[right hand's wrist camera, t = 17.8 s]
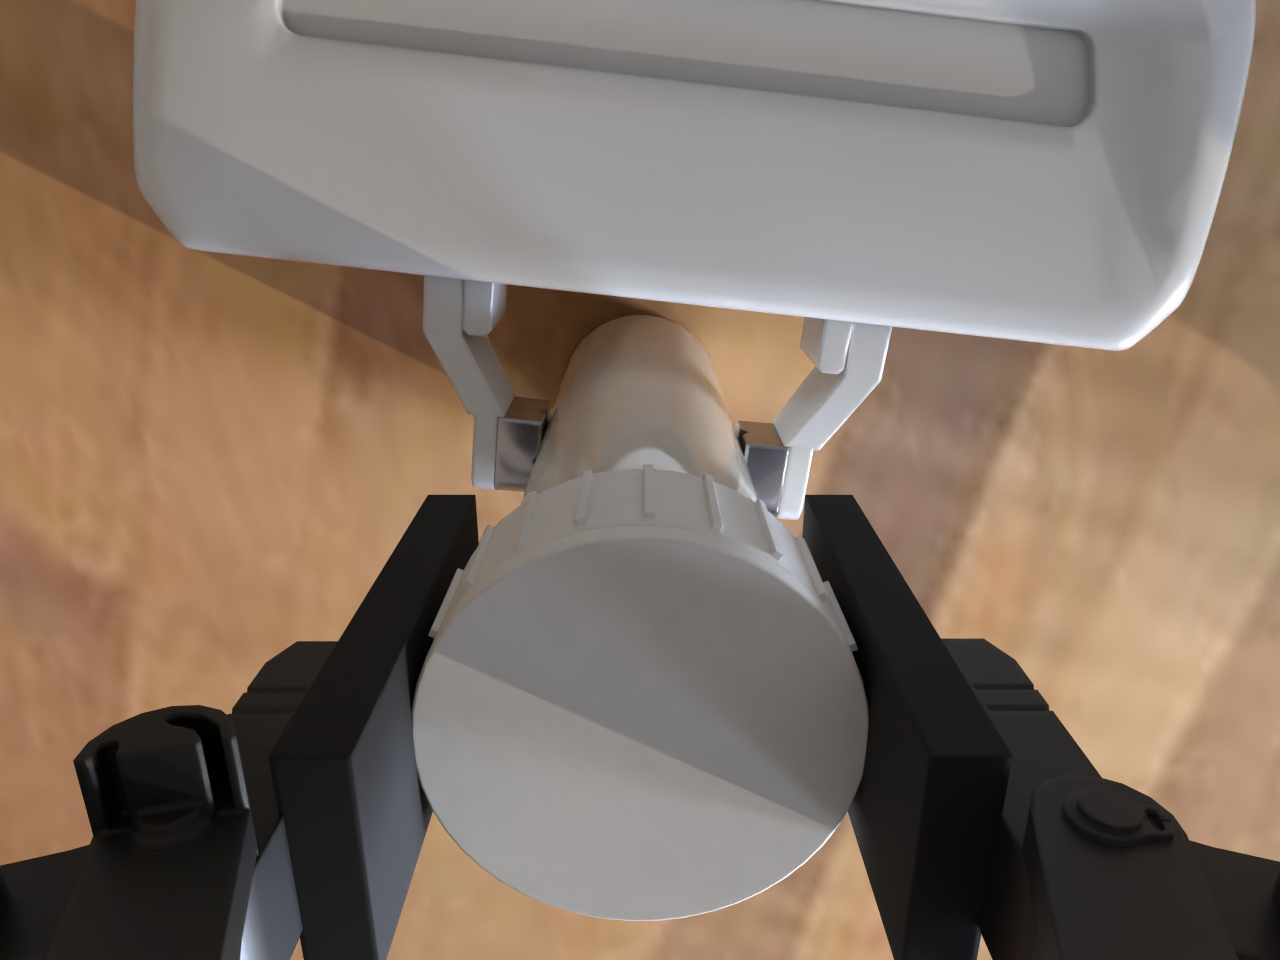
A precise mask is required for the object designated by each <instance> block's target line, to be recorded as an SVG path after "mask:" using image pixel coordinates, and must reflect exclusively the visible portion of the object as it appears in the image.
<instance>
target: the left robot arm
mask: <svg viewBox="0 0 1280 960" xmlns="http://www.w3.org/2000/svg"><path fill="white" fill-rule="evenodd" d="M1255 16H1256V2H1255V0H136V6H135V21H134V47H133V91H132V115H133V153H134V167H135V175H136V180H137V185H138V188H139V190H140V193H141V194H142V196H143V197H144V199H145V200H146V202H147V203H148V204H149V206H150V207H151V208H152V209H153V211H154V212H155V213H156V215H157V216H158V217H159V219H160V220H161V221H162V223H163V224H164V225H165V227H166V228H167V229H168V230H169V232H170V233H171V234H172V235H173V236H174V238H175V239H176V240H177V241H178V242H179V243H180V244H182V245H183V246H185V247H187V248H190V249H193V250H200V251H208V252H217V253H226V254H235V255H244V256H254V257H263V258H272V259H281V260H290V261H299V262H308V263H318V264H327V265H336V266H345V267H354V268H363V269H372V270H381V271H391V272H400V273H409V274H418V275H424V295H423V332H424V334H425V336H426V338H427V340H428V342H429V343H430V345H431V347H432V349H433V351H434V352H435V354H436V356H437V358H438V360H439V362H440V363H441V365H442V367H443V369H444V371H445V372H446V374H447V376H448V378H449V380H450V382H451V383H452V385H453V387H454V389H455V391H456V392H457V394H458V396H459V398H460V400H461V402H462V403H463V405H464V407H465V409H466V411H467V412H468V414H473V415H474V431H473V454H472V478H471V479H472V484H473V487H476V488H483V489H490V490H495V489H498V490H510V491H522V492H525V490H526V487H527V484H528V481H529V478H530V475H531V472H532V470H533V467H534V464H535V461H536V458H537V455H538V452H539V449H540V446H541V443H542V440H543V437H544V434H545V431H546V428H547V425H548V422H549V411H550V401H546V400H538V399H530V398H522V397H515V393H514V391H513V388H512V386H511V384H510V382H509V380H508V378H507V376H506V374H505V372H504V370H503V368H502V365H501V363H500V361H499V359H498V357H497V355H496V353H495V351H494V349H493V347H492V344H491V342H490V340H489V338H488V336H487V335H488V334H489V333H490V332H491V331H492V329H493V328H494V327H495V326H496V325H497V324H498V322H499V321H500V320H501V319H502V318H503V317H504V315H505V313H506V298H507V284H509V285H518V286H528V287H537V288H546V289H555V290H564V291H573V292H582V293H591V294H601V295H610V296H619V297H628V298H637V299H646V300H655V301H665V302H674V303H683V304H692V305H701V306H710V307H719V308H728V309H738V310H747V311H756V312H765V313H774V314H783V315H792V316H801V317H804V322H803V328H802V335H801V341H800V347H801V348H802V350H803V351H804V353H805V354H806V355H807V356H808V357H809V359H810V360H811V361H812V362H813V363H814V365H815V367H814V369H813V370H812V371H811V373H810V374H809V375H808V376H807V378H806V379H805V380H804V381H803V383H802V384H801V385H800V387H799V388H798V389H797V390H796V392H795V393H794V394H793V396H792V397H791V398H790V399H789V401H788V402H787V403H786V405H785V406H784V407H783V408H782V410H781V411H780V412H779V413H778V415H777V416H776V417H775V419H774V420H773V421H772V422H773V424H771V423H759V422H747V421H738V423H737V429H736V435H737V438H738V441H739V444H740V447H741V450H742V453H743V456H744V459H745V462H746V465H747V467H748V470H749V473H750V476H751V479H752V482H753V485H754V488H755V491H756V494H757V497H758V498H759V499H761V500H762V501H764V502H765V505H766V508H767V511H769V512H770V513H771V514H773V515H774V516H775V517H776V518H781V519H791V520H797V519H798V518H799V516H800V513H801V511H802V507H803V502H804V496H805V491H806V486H807V480H808V475H809V470H810V464H811V459H812V454H813V450H820V449H821V448H822V446H823V445H824V444H825V443H826V442H827V441H828V440H829V438H830V437H831V436H832V435H833V434H834V433H835V432H836V431H837V429H838V428H839V427H840V426H841V425H842V424H843V423H844V422H845V420H846V419H847V418H848V417H849V416H850V415H851V414H852V413H853V411H854V410H855V409H856V408H857V407H858V406H859V405H860V404H861V402H862V401H863V400H864V399H865V398H866V397H867V396H868V395H869V393H870V392H871V391H872V390H873V389H874V388H875V387H876V386H877V384H878V383H879V382H880V381H881V377H882V373H883V368H884V363H885V359H886V354H887V349H888V345H889V340H890V335H891V331H892V326H893V327H902V328H911V329H920V330H929V331H938V332H948V333H957V334H966V335H975V336H984V337H993V338H1002V339H1012V340H1021V341H1030V342H1039V343H1048V344H1057V345H1066V346H1076V347H1085V348H1094V349H1103V350H1113V351H1118V350H1125V349H1128V348H1130V347H1132V346H1133V345H1134V344H1136V343H1137V342H1138V341H1140V340H1141V339H1142V338H1143V337H1145V336H1146V335H1147V334H1148V333H1150V332H1151V331H1152V330H1153V329H1154V328H1155V327H1157V326H1158V325H1159V324H1160V323H1161V322H1162V321H1163V320H1164V319H1166V318H1167V317H1168V316H1169V315H1170V314H1171V313H1172V312H1173V311H1174V310H1175V309H1177V308H1178V307H1179V305H1180V304H1181V302H1182V301H1183V300H1184V298H1185V296H1186V294H1187V292H1188V290H1189V288H1190V286H1191V284H1192V281H1193V279H1194V276H1195V273H1196V270H1197V268H1198V265H1199V262H1200V259H1201V256H1202V254H1203V250H1204V247H1205V244H1206V240H1207V237H1208V234H1209V231H1210V227H1211V224H1212V221H1213V217H1214V214H1215V211H1216V207H1217V204H1218V200H1219V196H1220V193H1221V189H1222V185H1223V181H1224V178H1225V174H1226V170H1227V167H1228V163H1229V158H1230V154H1231V150H1232V146H1233V142H1234V138H1235V134H1236V130H1237V125H1238V121H1239V117H1240V112H1241V107H1242V102H1243V98H1244V93H1245V88H1246V83H1247V78H1248V73H1249V67H1250V62H1251V56H1252V50H1253V42H1254V34H1255Z"/></svg>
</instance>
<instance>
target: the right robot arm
mask: <svg viewBox="0 0 1280 960" xmlns="http://www.w3.org/2000/svg"><path fill="white" fill-rule="evenodd" d="M802 537H803V538H804V540H805V541H806V544H807V546H808V548H809V551H810V553H811V555H812V558H813V560H814V563H815V565H816V567H817V570H818V572H819V574H820V577H821V579H822V582H826V581H829V583H830V585H831V588H832V590H833V592H834V594H835V597H836V599H837V601H838V604H839V606H840V608H841V610H842V613H843V615H844V617H845V620H846V622H847V624H848V627H849V629H850V631H851V633H852V636H853V638H854V640H855V643H856V645H857V648H858V650H856V651H853V652H852V654H853V657H854V659H855V661H856V664H857V666H858V669H859V671H860V674H861V676H862V679H863V683H864V688H865V692H866V696H867V701H868V707H869V725H868V735H867V745H866V755H865V763H864V771H863V776H862V780H861V782H860V785H859V787H858V790H857V792H856V794H855V797H854V799H853V802H852V804H851V806H850V807H849V809H848V813H849V817H850V820H851V823H852V826H853V829H854V833H855V836H856V839H857V842H858V845H859V849H860V852H861V855H862V858H863V861H864V864H865V868H866V871H867V874H868V877H869V880H870V884H871V887H872V890H873V893H874V896H875V900H876V903H877V906H878V909H879V912H880V916H881V919H882V922H883V925H884V928H885V931H886V935H887V938H888V941H889V944H890V947H891V951H892V954H893V957H894V960H977V955H978V949H979V943H980V938H981V934H982V936H983V938H984V941H985V943H986V945H987V948H988V950H989V952H990V955H991V957H992V959H993V960H1280V862H1278V861H1274V860H1269V859H1264V858H1260V857H1255V856H1251V855H1246V854H1242V853H1237V852H1233V851H1228V850H1224V849H1219V848H1214V847H1210V846H1207V845H1203V844H1200V843H1197V842H1193V841H1190V840H1189V839H1188V837H1187V835H1186V833H1185V832H1184V830H1183V829H1182V827H1181V826H1180V825H1179V823H1178V822H1177V820H1176V819H1175V817H1174V816H1173V815H1172V814H1171V813H1170V812H1168V811H1167V810H1166V809H1165V808H1163V807H1162V806H1161V805H1159V804H1158V803H1157V802H1156V801H1154V800H1153V799H1152V798H1151V797H1149V796H1147V795H1145V794H1143V793H1141V792H1138V791H1136V790H1134V789H1132V788H1130V787H1128V786H1126V785H1124V784H1122V783H1118V782H1114V781H1111V780H1107V779H1103V778H1102V777H1101V776H1100V775H1099V773H1098V772H1097V770H1096V769H1095V768H1094V766H1093V765H1092V764H1091V762H1090V761H1089V760H1088V758H1087V757H1086V756H1085V754H1084V753H1083V751H1082V750H1081V749H1080V747H1079V746H1078V745H1077V743H1076V742H1075V741H1074V739H1073V738H1072V736H1071V735H1070V734H1069V732H1068V731H1067V730H1066V728H1065V727H1064V726H1063V724H1062V723H1061V721H1060V720H1059V719H1058V717H1057V716H1056V715H1055V713H1054V712H1053V711H1049V705H1048V704H1047V702H1046V701H1045V700H1044V698H1043V697H1042V696H1041V694H1040V693H1039V692H1038V690H1034V685H1033V683H1032V682H1031V681H1030V679H1029V678H1028V677H1027V675H1026V674H1025V673H1024V671H1023V670H1022V668H1021V667H1020V666H1019V664H1018V663H1017V662H1016V660H1015V659H1013V658H1012V657H1010V656H1009V655H1007V654H1006V653H1004V652H1003V651H1001V650H1000V649H998V648H997V647H995V646H994V645H992V644H991V643H989V642H988V641H986V640H985V639H941V638H940V637H939V635H938V633H937V632H936V630H935V629H934V627H933V625H932V624H931V622H930V620H929V619H928V617H927V616H926V614H925V612H924V611H923V609H922V607H921V606H920V604H919V603H918V601H917V599H916V598H915V596H914V594H913V593H912V591H911V590H910V588H909V586H908V585H907V583H906V581H905V580H904V578H903V576H902V575H901V573H900V572H899V570H898V568H897V567H896V565H895V563H894V562H893V560H892V559H891V557H890V555H889V554H888V552H887V550H886V549H885V547H884V546H883V544H882V542H881V541H880V539H879V537H878V536H877V534H876V533H875V531H874V529H873V528H872V526H871V524H870V523H869V521H868V520H867V518H866V516H865V515H864V513H863V511H862V510H861V508H860V506H859V505H858V503H857V502H856V500H855V498H854V497H853V495H805V507H804V521H803V536H802ZM478 545H479V542H478V528H477V513H476V499H475V495H428V496H427V498H426V499H425V501H424V503H423V504H422V506H421V507H420V509H419V511H418V512H417V514H416V516H415V517H414V519H413V520H412V522H411V524H410V525H409V527H408V529H407V530H406V532H405V533H404V535H403V537H402V538H401V540H400V542H399V543H398V545H397V546H396V548H395V550H394V551H393V553H392V555H391V556H390V558H389V560H388V561H387V563H386V564H385V566H384V568H383V569H382V571H381V573H380V574H379V576H378V577H377V579H376V581H375V582H374V584H373V586H372V587H371V589H370V590H369V592H368V594H367V595H366V597H365V599H364V600H363V602H362V603H361V605H360V607H359V608H358V610H357V612H356V613H355V615H354V616H353V618H352V620H351V621H350V623H349V625H348V626H347V628H346V630H345V631H344V633H343V634H342V636H341V638H340V639H339V641H297V642H296V643H294V644H293V645H291V646H290V647H288V648H287V649H285V650H284V651H282V652H281V653H280V654H278V655H277V656H275V657H274V658H272V659H271V660H269V661H268V662H266V663H265V665H264V666H263V667H262V669H261V670H260V671H259V673H258V674H257V676H256V677H255V678H254V680H253V681H252V682H251V684H250V685H249V686H248V691H247V693H243V695H242V696H241V697H240V699H239V700H238V702H237V703H236V704H235V706H234V707H233V708H232V714H228V715H226V714H225V713H224V712H223V711H221V710H218V709H214V708H210V707H205V706H201V705H191V706H171V707H167V708H162V709H158V710H154V711H150V712H145V713H141V714H139V715H137V716H134V717H132V718H130V719H127V720H125V721H123V722H120V723H118V724H116V725H113V726H111V727H110V728H109V729H107V730H106V731H104V732H103V733H101V734H100V735H98V736H97V737H95V738H94V739H92V740H91V741H90V742H88V743H87V745H86V746H85V747H84V748H83V749H82V751H81V752H80V753H79V754H78V756H77V757H76V758H75V759H74V760H73V762H74V765H75V769H76V773H77V777H78V780H79V784H80V788H81V791H82V795H83V799H84V803H85V806H86V810H87V814H88V817H89V821H90V825H91V829H92V832H93V838H92V841H91V843H90V845H87V846H83V847H80V848H76V849H73V850H69V851H65V852H60V853H56V854H51V855H47V856H42V857H38V858H33V859H29V860H24V861H20V862H15V863H11V864H6V865H2V866H0V960H290V958H291V956H292V953H293V951H294V949H295V946H296V944H297V942H298V939H299V937H300V940H301V946H302V952H303V957H304V960H386V959H387V956H388V952H389V949H390V946H391V943H392V940H393V936H394V933H395V930H396V927H397V924H398V920H399V917H400V914H401V911H402V908H403V904H404V901H405V898H406V895H407V892H408V889H409V885H410V882H411V879H412V876H413V873H414V869H415V866H416V863H417V860H418V857H419V853H420V850H421V847H422V844H423V841H424V837H425V834H426V831H427V828H428V825H429V822H430V818H431V815H432V812H433V810H432V808H431V806H430V804H429V802H428V800H427V797H426V795H425V793H424V791H423V789H422V786H421V783H420V780H419V776H418V773H417V766H416V757H415V748H414V739H413V728H412V711H411V710H412V704H413V699H414V694H415V689H416V684H417V681H418V678H419V676H420V673H421V670H422V667H423V664H424V662H425V659H426V657H427V654H428V652H429V650H430V647H431V645H432V643H433V640H434V638H432V637H430V636H428V634H429V632H430V630H431V628H432V625H433V623H434V621H435V618H436V616H437V614H438V612H439V609H440V607H441V605H442V602H443V600H444V598H445V596H446V593H447V591H448V589H449V587H450V584H451V582H452V580H453V577H454V575H455V573H456V571H457V569H458V568H459V569H461V570H464V569H465V567H466V565H467V563H468V561H469V560H470V558H471V556H472V554H473V553H474V552H475V550H476V549H477V547H478Z"/></svg>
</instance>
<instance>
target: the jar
mask: <svg viewBox="0 0 1280 960" xmlns="http://www.w3.org/2000/svg"><path fill="white" fill-rule="evenodd" d="M644 464H652V465H653V469H658V470H667V471H676V472H681V473H685V474H689V475H694V476H698V477H702V478H703V476H704V474H708V475H711V476H712V478H713V482H716V483H719V484H721V485H724V486H727V487H729V488H731V489H733V490H735V491H737V492H739V493H740V494H742V495H744V496H746V497H748V498H750V499H752V500H753V501H755V502H756V500H757V499H758V497H757V494H756V491H755V488H754V485H753V482H752V479H751V476H750V473H749V470H748V467H747V465H746V462H745V459H744V456H743V453H742V450H741V447H740V444H739V441H738V438H737V435H736V432H735V429H734V426H733V423H732V420H731V417H730V414H729V411H728V408H727V405H726V402H725V399H724V396H723V393H722V390H721V388H720V385H719V382H718V379H717V376H716V373H715V370H714V367H713V364H712V362H711V359H710V357H709V355H708V353H707V352H706V350H705V349H704V347H703V346H702V344H701V343H700V342H699V341H698V340H697V339H696V338H695V337H694V336H693V335H692V334H691V333H690V332H689V331H687V330H686V329H684V328H683V327H682V326H680V325H678V324H676V323H674V322H672V321H670V320H667V319H664V318H661V317H656V316H651V315H630V316H625V317H620V318H617V319H614V320H611V321H609V322H607V323H605V324H603V325H601V326H599V327H598V328H596V329H595V330H593V331H592V332H591V333H590V334H589V335H587V336H586V337H585V338H584V339H583V341H582V342H581V343H580V344H579V345H578V347H577V348H576V350H575V351H574V353H573V355H572V357H571V359H570V361H569V363H568V366H567V369H566V372H565V375H564V378H563V381H562V384H561V387H560V390H559V393H558V396H557V399H556V402H555V404H554V407H553V410H552V413H551V416H550V419H549V422H548V425H547V428H546V431H545V434H544V437H543V440H542V443H541V446H540V449H539V452H538V455H537V458H536V461H535V464H534V467H533V470H532V472H531V475H530V478H529V481H528V484H527V487H526V490H525V493H524V496H523V499H522V502H521V504H523V503H524V502H526V501H527V498H528V495H529V494H530V493H531V492H533V491H536V492H537V493H538V494H540V493H542V492H543V491H545V490H547V489H550V488H552V487H555V486H557V485H559V484H562V483H564V482H567V481H569V480H572V479H576V478H579V477H583V473H584V471H587V470H592V473H593V474H594V473H599V472H607V471H614V470H621V469H644Z"/></svg>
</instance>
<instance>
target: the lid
mask: <svg viewBox="0 0 1280 960" xmlns="http://www.w3.org/2000/svg"><path fill="white" fill-rule="evenodd" d="M428 636H430V637H432V638H434V640H433V643H432V645H431V647H430V650H429V652H428V654H427V657H426V659H425V662H424V664H423V667H422V670H421V673H420V676H419V678H418V681H417V684H416V689H415V694H414V699H413V704H412V710H411V711H412V728H413V739H414V748H415V757H416V766H417V773H418V776H419V780H420V783H421V786H422V789H423V791H424V793H425V795H426V797H427V800H428V802H429V804H430V806H431V808H432V810H433V812H434V813H435V815H436V816H437V818H438V819H439V821H440V823H441V824H442V826H443V827H444V829H445V830H446V832H447V833H448V834H449V835H450V836H451V837H452V839H453V840H454V841H455V842H456V843H457V845H458V846H459V847H460V848H461V849H462V850H463V851H464V852H465V853H466V854H467V855H468V856H469V857H470V858H472V859H473V860H474V861H475V862H476V863H477V864H478V865H479V866H480V867H482V868H483V869H484V870H486V871H487V872H489V873H490V874H491V875H493V876H494V877H495V878H497V879H498V880H500V881H501V882H503V883H504V884H506V885H508V886H510V887H512V888H513V889H515V890H517V891H519V892H521V893H522V894H524V895H526V896H529V897H531V898H533V899H536V900H538V901H540V902H543V903H545V904H548V905H550V906H553V907H557V908H560V909H563V910H567V911H570V912H573V913H577V914H582V915H587V916H593V917H598V918H604V919H615V920H626V921H657V920H666V919H675V918H684V917H689V916H693V915H698V914H703V913H707V912H712V911H715V910H718V909H721V908H724V907H727V906H730V905H733V904H736V903H738V902H741V901H743V900H745V899H747V898H750V897H752V896H754V895H756V894H758V893H761V892H762V891H764V890H766V889H768V888H769V887H771V886H773V885H774V884H776V883H778V882H779V881H781V880H783V879H784V878H786V877H787V876H788V875H790V874H791V873H792V872H794V871H795V870H796V869H797V868H799V867H800V866H801V865H803V864H804V863H805V862H806V861H807V860H808V859H809V858H810V857H811V856H812V855H813V854H814V853H815V852H817V851H818V850H819V849H820V848H821V847H822V846H823V845H824V843H825V842H826V841H827V840H828V838H829V837H830V836H831V834H832V833H833V832H834V831H835V829H836V828H837V827H838V826H839V824H840V823H841V821H842V819H843V817H844V816H845V814H846V812H847V811H848V809H849V807H850V806H851V804H852V802H853V799H854V797H855V794H856V792H857V790H858V787H859V785H860V782H861V780H862V776H863V771H864V763H865V755H866V745H867V735H868V725H869V707H868V701H867V696H866V692H865V688H864V683H863V679H862V676H861V674H860V671H859V669H858V666H857V664H856V661H855V659H854V657H853V654H852V652H853V651H856V650H858V648H857V645H856V643H855V640H854V638H853V636H852V633H851V631H850V629H849V627H848V624H847V622H846V620H845V617H844V615H843V613H842V610H841V608H840V606H839V604H838V601H837V599H836V597H835V594H834V592H833V590H832V588H831V585H830V583H829V581H826V582H822V579H821V577H820V574H819V572H818V570H817V567H816V565H815V563H814V560H813V558H812V555H811V553H810V551H809V548H808V546H807V544H806V541H805V540H804V538H803V537H802V536H801V535H800V536H799V537H797V538H795V536H794V535H793V534H792V533H791V531H790V530H789V529H787V528H786V527H785V526H784V525H783V524H782V523H781V522H780V521H779V520H778V519H777V518H776V517H775V516H774V515H773V514H771V513H770V512H769V511H767V508H766V505H765V502H764V501H762V500H761V499H759V498H758V499H757V500H756V502H755V501H753V500H752V499H750V498H748V497H746V496H744V495H742V494H740V493H739V492H737V491H735V490H733V489H731V488H729V487H727V486H724V485H721V484H719V483H716V482H713V478H712V476H711V475H708V474H704V476H703V478H702V477H698V476H694V475H689V474H685V473H681V472H676V471H667V470H658V469H653V465H652V464H644V469H621V470H614V471H607V472H599V473H594V474H593V473H592V470H587V471H584V473H583V477H579V478H576V479H572V480H569V481H567V482H564V483H562V484H559V485H557V486H555V487H552V488H550V489H547V490H545V491H543V492H542V493H540V494H538V493H537V492H536V491H533V492H531V493H530V494H529V495H528V498H527V501H526V502H524V503H523V504H521V505H520V506H519V507H518V508H516V509H515V510H514V511H512V512H511V513H510V514H508V515H507V516H506V517H504V518H503V519H502V520H501V521H500V522H499V523H498V524H497V525H496V526H495V527H494V528H493V527H492V526H491V525H488V526H487V527H486V529H485V530H484V532H483V535H482V537H481V540H480V542H479V545H478V547H477V549H476V550H475V552H474V553H473V554H472V556H471V558H470V560H469V561H468V563H467V565H466V567H465V569H464V570H461V569H459V568H458V569H457V571H456V573H455V575H454V577H453V580H452V582H451V584H450V587H449V589H448V591H447V593H446V596H445V598H444V600H443V602H442V605H441V607H440V609H439V612H438V614H437V616H436V618H435V621H434V623H433V625H432V628H431V630H430V632H429V634H428Z"/></svg>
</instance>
